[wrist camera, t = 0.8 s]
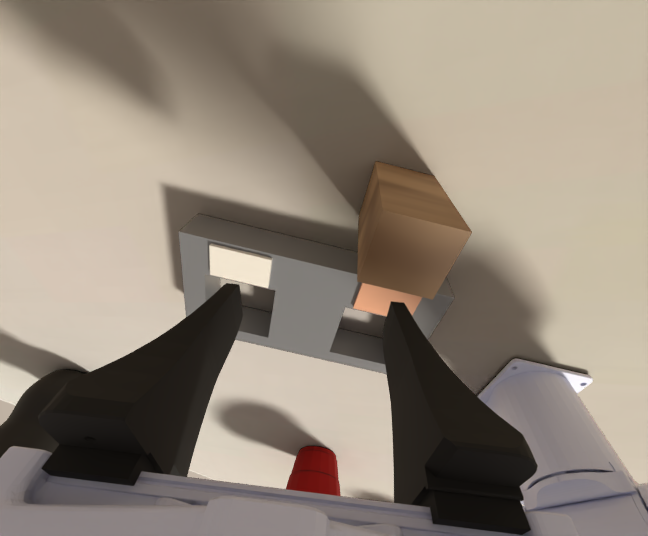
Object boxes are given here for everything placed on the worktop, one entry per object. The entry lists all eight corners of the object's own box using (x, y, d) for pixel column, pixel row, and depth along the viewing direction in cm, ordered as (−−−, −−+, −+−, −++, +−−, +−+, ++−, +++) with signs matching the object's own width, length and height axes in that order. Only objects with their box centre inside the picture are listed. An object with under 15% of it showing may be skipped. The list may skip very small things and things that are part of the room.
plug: (411, 228, 21) (432, 299, 15) (358, 215, 21) (357, 281, 15) (434, 176, 19) (471, 232, 13) (375, 161, 19) (382, 210, 12)
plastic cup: (343, 476, 47) (338, 583, 37) (278, 461, 47) (256, 566, 37) (364, 447, 41) (365, 567, 31) (289, 430, 40) (266, 546, 31)
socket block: (400, 351, 29) (403, 380, 26) (202, 305, 28) (185, 331, 26) (445, 273, 23) (455, 300, 21) (198, 213, 23) (176, 233, 20)
